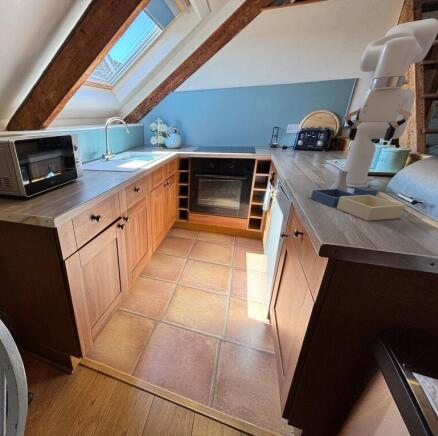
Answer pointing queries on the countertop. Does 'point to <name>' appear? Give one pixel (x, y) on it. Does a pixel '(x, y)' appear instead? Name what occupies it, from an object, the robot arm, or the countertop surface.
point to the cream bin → (370, 207)
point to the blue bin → (329, 196)
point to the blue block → (365, 191)
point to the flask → (340, 181)
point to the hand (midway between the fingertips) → (368, 140)
